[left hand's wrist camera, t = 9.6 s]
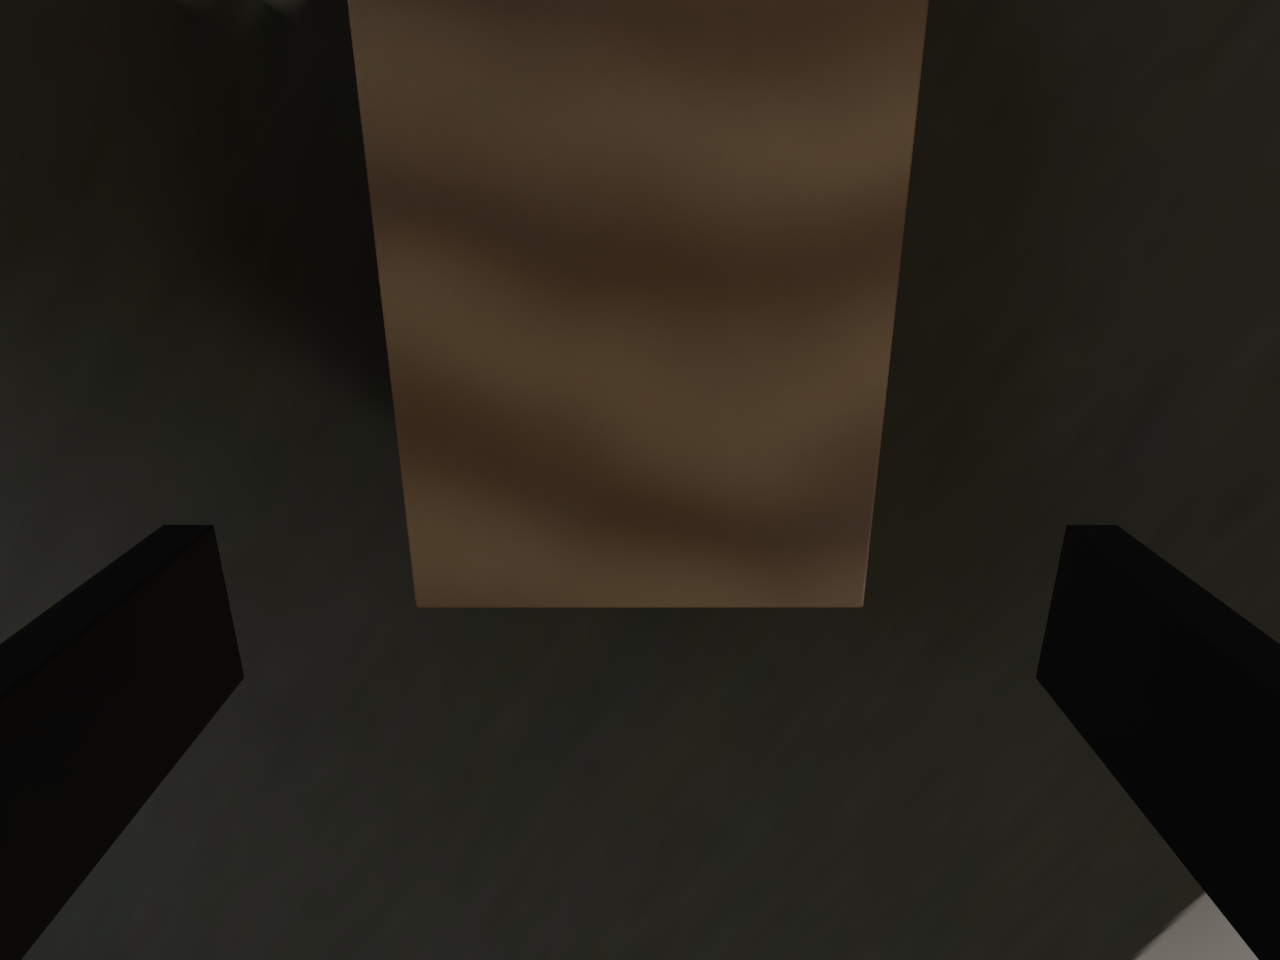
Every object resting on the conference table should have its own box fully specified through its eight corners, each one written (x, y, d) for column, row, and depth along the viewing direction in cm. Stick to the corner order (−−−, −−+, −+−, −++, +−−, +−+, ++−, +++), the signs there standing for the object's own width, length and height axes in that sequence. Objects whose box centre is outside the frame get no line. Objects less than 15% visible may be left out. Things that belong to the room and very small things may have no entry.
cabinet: (435, -124, 22) (311, -303, 14) (843, -126, 22) (963, -306, 14) (481, 482, 28) (415, 608, 20) (799, 481, 28) (864, 608, 20)
